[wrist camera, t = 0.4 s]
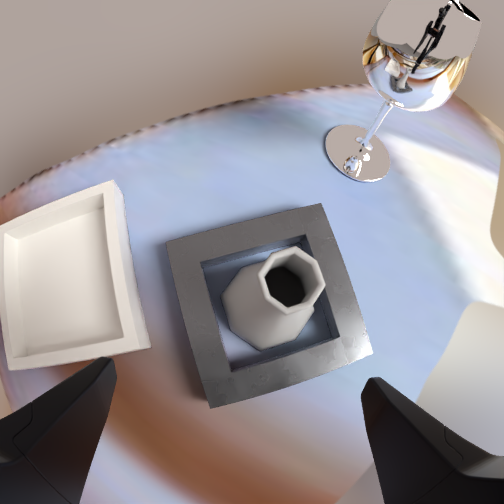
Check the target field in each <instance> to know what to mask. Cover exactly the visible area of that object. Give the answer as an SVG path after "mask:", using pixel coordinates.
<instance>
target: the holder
mask: <svg viewBox="0 0 504 504" xmlns="http://www.w3.org/2000/svg"><path fill="white" fill-rule="evenodd" d="M298 242H301V245H302V248H303V251H304V252H305V253H307V254H308V255H310V256H311V257H312V258H314V259H315V260H317V262H318V265H319V268H320V270H321V273H322V276H323V279H324V281H325V284H326V286H325V287H324V289H323V290H322V292H321V293H320V295H319V298H320V301H321V304H322V307H323V310H324V313H325V317H326V320H327V323H328V326H329V329H330V333H331V336H332V338H329V339H327V340H324V341H321V342H318V343H316V344H313V345H310V346H307V347H304V348H301V349H298V350H295V351H292V352H289V353H286V354H283V355H280V356H277V357H274V358H271V359H267V360H264V361H261V362H257V363H254V364H251V365H247V366H244V367H240V368H236V369H233V370H231V367H230V363H229V360H228V357H227V353H226V350H225V347H224V343H223V340H222V337H221V333H220V330H219V326H218V323H217V319H216V316H215V312H214V309H213V305H212V301H211V298H210V294H209V290H208V286H207V283H206V279H205V275H204V271H203V268H205V267H209V266H213V265H216V264H220V263H224V262H228V261H231V260H235V259H239V258H242V257H246V256H250V255H254V254H257V253H261V252H265V251H268V250H272V249H276V248H280V247H283V246H287V245H291V244H294V243H298ZM166 246H167V251H168V256H169V261H170V265H171V270H172V274H173V278H174V283H175V287H176V291H177V295H178V299H179V303H180V307H181V311H182V315H183V319H184V323H185V327H186V330H187V334H188V338H189V341H190V345H191V348H192V352H193V355H194V359H195V362H196V365H197V369H198V372H199V375H200V378H201V382H202V385H203V388H204V391H205V394H206V397H207V400H208V403H209V406H210V409H211V408H215V407H219V406H223V405H227V404H231V403H235V402H239V401H243V400H246V399H250V398H253V397H257V396H260V395H264V394H267V393H270V392H274V391H277V390H280V389H283V388H286V387H289V386H292V385H295V384H298V383H301V382H303V381H306V380H309V379H312V378H315V377H317V376H320V375H323V374H325V373H328V372H330V371H333V370H335V369H338V368H340V367H343V366H345V365H348V364H350V363H352V362H355V361H357V360H359V359H362V358H364V357H366V356H368V355H371V354H373V351H372V348H371V344H370V341H369V337H368V334H367V331H366V327H365V324H364V321H363V318H362V314H361V311H360V308H359V305H358V302H357V299H356V296H355V293H354V290H353V287H352V284H351V281H350V278H349V275H348V272H347V270H346V267H345V264H344V261H343V258H342V256H341V253H340V250H339V248H338V245H337V242H336V240H335V237H334V234H333V232H332V229H331V227H330V224H329V221H328V219H327V216H326V214H325V211H324V209H323V207H322V204H321V203H319V204H314V205H310V206H306V207H302V208H297V209H293V210H289V211H285V212H281V213H276V214H272V215H268V216H264V217H260V218H256V219H252V220H248V221H244V222H240V223H236V224H232V225H228V226H224V227H220V228H217V229H213V230H209V231H205V232H201V233H198V234H194V235H190V236H186V237H183V238H179V239H175V240H172V241H168V242H166Z"/></svg>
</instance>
